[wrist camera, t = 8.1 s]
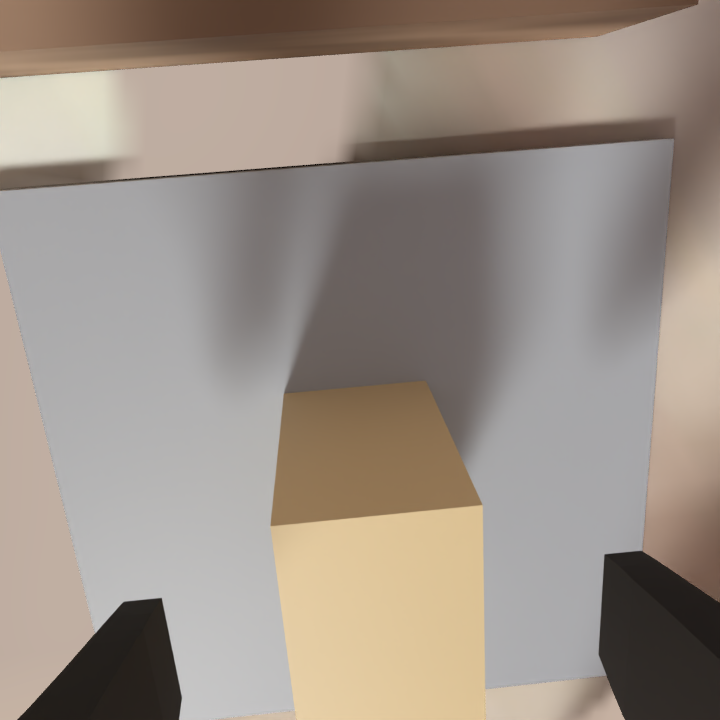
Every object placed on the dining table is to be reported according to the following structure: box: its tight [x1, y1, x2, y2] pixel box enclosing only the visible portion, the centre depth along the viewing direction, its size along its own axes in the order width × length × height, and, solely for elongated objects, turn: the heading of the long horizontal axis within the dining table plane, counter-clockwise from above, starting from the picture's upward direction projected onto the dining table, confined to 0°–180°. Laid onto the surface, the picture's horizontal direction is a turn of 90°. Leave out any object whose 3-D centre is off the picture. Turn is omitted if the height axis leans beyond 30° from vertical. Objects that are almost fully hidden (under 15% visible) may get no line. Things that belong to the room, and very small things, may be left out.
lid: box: [0, 139, 674, 720], centre depth 13 cm, size 13×13×6 cm
